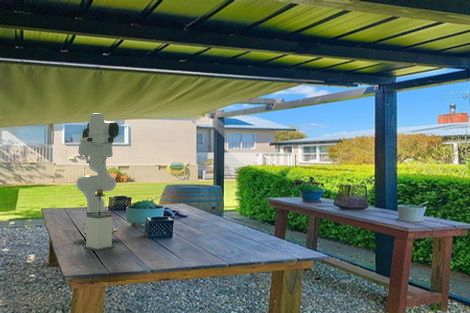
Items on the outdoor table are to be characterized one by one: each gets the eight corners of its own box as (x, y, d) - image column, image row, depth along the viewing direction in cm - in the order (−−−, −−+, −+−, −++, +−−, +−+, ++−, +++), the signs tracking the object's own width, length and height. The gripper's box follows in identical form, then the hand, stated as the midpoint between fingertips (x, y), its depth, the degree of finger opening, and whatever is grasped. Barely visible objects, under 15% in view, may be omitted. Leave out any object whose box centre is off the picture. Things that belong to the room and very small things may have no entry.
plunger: (100, 220, 256) (100, 188, 256) (108, 221, 252) (108, 189, 252) (90, 221, 250) (91, 189, 250) (98, 223, 246) (99, 189, 246)
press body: (100, 244, 260) (101, 212, 259) (114, 247, 253) (114, 214, 253) (83, 248, 250) (84, 214, 249) (97, 251, 243) (98, 216, 243)
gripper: (109, 142, 264) (108, 165, 263) (77, 139, 249) (76, 163, 248) (115, 141, 260) (114, 164, 258) (82, 138, 245) (82, 162, 243)
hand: (95, 163), depth 253 cm, fingers open, 8 cm apart
